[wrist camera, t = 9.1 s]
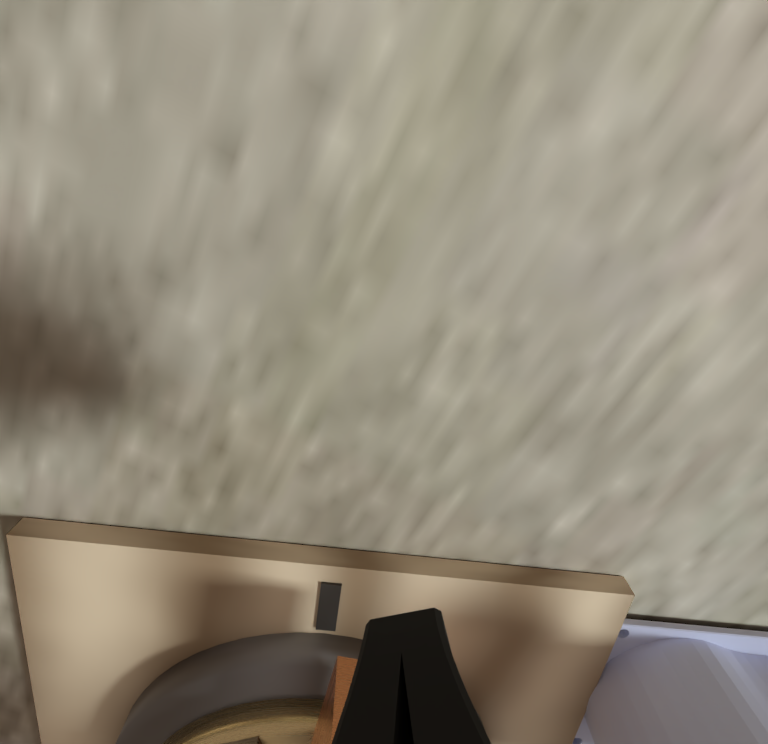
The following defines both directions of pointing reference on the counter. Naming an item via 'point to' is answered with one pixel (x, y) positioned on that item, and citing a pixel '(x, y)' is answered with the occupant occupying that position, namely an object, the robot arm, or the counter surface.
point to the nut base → (285, 628)
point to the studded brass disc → (275, 717)
